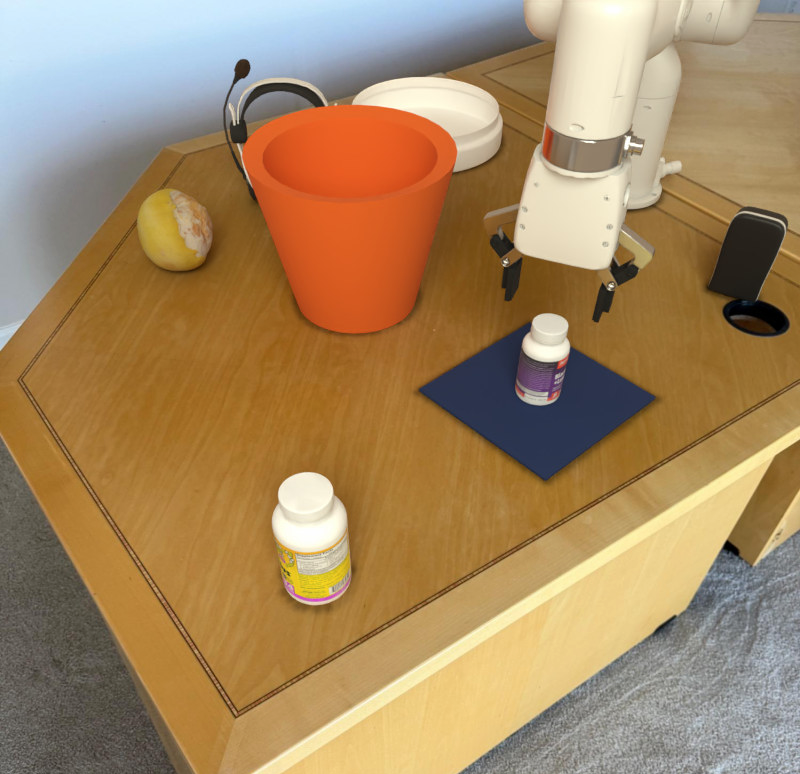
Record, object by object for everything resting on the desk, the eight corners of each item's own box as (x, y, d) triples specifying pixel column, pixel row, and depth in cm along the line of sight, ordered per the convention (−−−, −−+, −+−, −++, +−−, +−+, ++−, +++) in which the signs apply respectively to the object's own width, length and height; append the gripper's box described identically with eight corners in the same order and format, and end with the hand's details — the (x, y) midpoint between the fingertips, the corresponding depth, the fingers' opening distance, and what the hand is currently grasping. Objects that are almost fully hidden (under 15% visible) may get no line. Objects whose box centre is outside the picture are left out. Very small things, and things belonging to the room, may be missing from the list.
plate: (532, 149, 132) (536, 115, 128) (404, 190, 123) (405, 156, 119) (440, 95, 146) (442, 64, 142) (319, 129, 137) (317, 96, 133)
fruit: (159, 292, 104) (141, 223, 97) (138, 254, 110) (119, 186, 103) (230, 274, 107) (218, 205, 100) (206, 238, 113) (192, 170, 106)
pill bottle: (558, 410, 89) (573, 341, 82) (512, 403, 90) (523, 334, 82) (561, 380, 92) (576, 312, 85) (517, 374, 93) (528, 306, 86)
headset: (232, 212, 118) (208, 70, 103) (238, 187, 123) (216, 48, 108) (343, 211, 118) (335, 70, 103) (344, 187, 123) (337, 48, 108)
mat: (529, 324, 100) (529, 322, 100) (655, 399, 91) (655, 396, 91) (418, 391, 92) (418, 388, 91) (545, 481, 82) (546, 478, 82)
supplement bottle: (283, 555, 76) (267, 464, 66) (350, 550, 76) (343, 460, 66) (283, 611, 72) (264, 523, 62) (353, 606, 72) (346, 518, 62)
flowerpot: (484, 315, 101) (500, 166, 86) (319, 379, 93) (304, 226, 78) (386, 231, 115) (385, 89, 99) (234, 280, 106) (207, 133, 91)
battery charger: (762, 291, 105) (796, 212, 97) (755, 305, 103) (789, 226, 94) (712, 277, 108) (740, 198, 99) (704, 290, 105) (733, 211, 97)
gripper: (688, 141, 69) (641, 303, 82) (505, 109, 73) (488, 268, 86) (673, 180, 64) (626, 344, 78) (479, 143, 69) (466, 305, 82)
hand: (554, 304), depth 82 cm, fingers open, 9 cm apart
